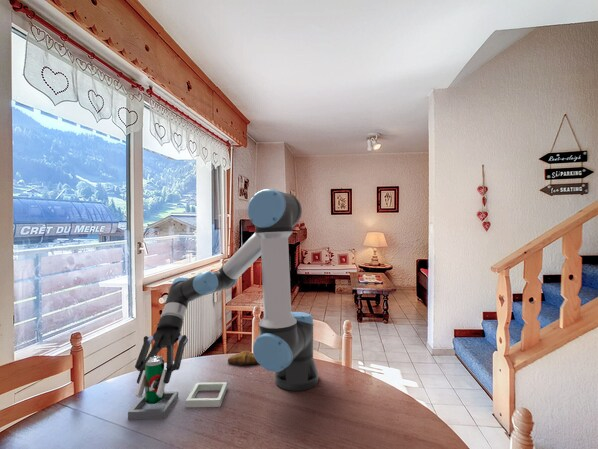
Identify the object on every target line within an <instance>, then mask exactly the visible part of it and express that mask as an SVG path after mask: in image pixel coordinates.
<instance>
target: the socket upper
mask: <svg viewBox="0 0 598 449" xmlns="http://www.w3.org/2000/svg"><path fill="white" fill-rule="evenodd" d="M178 400H179V391H164V398H163V399H162V401H167V402H166V403H165V405H164V406H163V408H159V409H158V408H154V409H153V408H151V409H141V408H143V406H144V405H145V404H147V403H146V402H145V392H143V394H142V397H141V398H138V400H137V401H136V403H134V404H133V406H132V407H131V408H130V409H129V410H128V411H127V420H163V419H164V420H165V419H166V417H167V416H168V414H169V413H170V411H171V409H172V408H173V407H174V406H175V403H177V401H178Z"/></svg>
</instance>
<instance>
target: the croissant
mask: <svg viewBox="0 0 598 449" xmlns="http://www.w3.org/2000/svg"><path fill="white" fill-rule="evenodd" d="M227 363H228V364H230V365H239V366H240V365H241V366H245V365H257V364H259V363H258V362H257V361H256V359H255V356H254V353H253V352H251V351H250V350H242V351H240V352H238V353H236V354H234V355H231V356H229V357H228V358H227Z"/></svg>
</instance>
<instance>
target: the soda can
mask: <svg viewBox="0 0 598 449" xmlns="http://www.w3.org/2000/svg"><path fill="white" fill-rule="evenodd" d="M163 370H165V359H164V356H161V355H156V356H154V357H151V358H149V359H147V362H146V364H145V388H144V393H145V402H146V403H145V404H147V405H156V404H159V403H160V402H162V401H163V400H162V399H163V398H164V392H165V390H164V391H163V395H162V397H158V396H157V395H156V393H157V390H158V386H159V383H160V379H161V376H162V372H163Z"/></svg>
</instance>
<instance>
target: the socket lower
mask: <svg viewBox="0 0 598 449" xmlns="http://www.w3.org/2000/svg"><path fill="white" fill-rule="evenodd" d="M227 389H228V382H225V381H224V382H222V381H221V382H218V381H217V382H216V381H215V382H196V383H195V384H194V386H193V388H192V389H191V391H190V393H189V395H188V396H187V398H186V399H185V408H216V407H217V408H220V407H221V405H222V403H223V401H224V398H225V395H226V392H227ZM199 391H200V392H201V391H219V393H218V396H217V397H206V398H205V397H203V398H202V397H201V398H200V397H198V398H196V396H197V394H198V393H199Z"/></svg>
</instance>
